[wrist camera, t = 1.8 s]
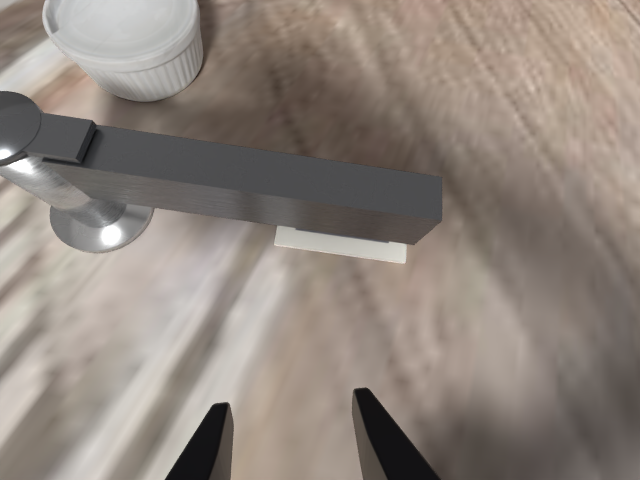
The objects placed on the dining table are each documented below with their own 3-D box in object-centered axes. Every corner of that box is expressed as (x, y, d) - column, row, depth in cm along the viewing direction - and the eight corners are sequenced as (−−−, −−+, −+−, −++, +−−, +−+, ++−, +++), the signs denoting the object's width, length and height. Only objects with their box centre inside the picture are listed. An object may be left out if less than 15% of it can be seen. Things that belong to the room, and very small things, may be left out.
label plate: (406, 194, 27) (408, 191, 26) (403, 263, 25) (406, 261, 24) (286, 176, 26) (286, 172, 26) (274, 245, 24) (274, 243, 24)
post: (165, 175, 26) (103, 91, 17) (138, 259, 23) (51, 209, 15) (76, 162, 25) (-31, 70, 17) (39, 245, 23) (-104, 187, 15)
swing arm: (12, 199, 19) (-72, 154, 14) (40, 142, 20) (-30, 85, 16) (413, 256, 20) (447, 230, 15) (415, 198, 21) (446, 158, 17)
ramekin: (94, 17, 30) (54, -48, 25) (215, 19, 31) (200, -43, 26) (74, 115, 27) (24, 61, 22) (211, 113, 28) (193, 62, 23)
